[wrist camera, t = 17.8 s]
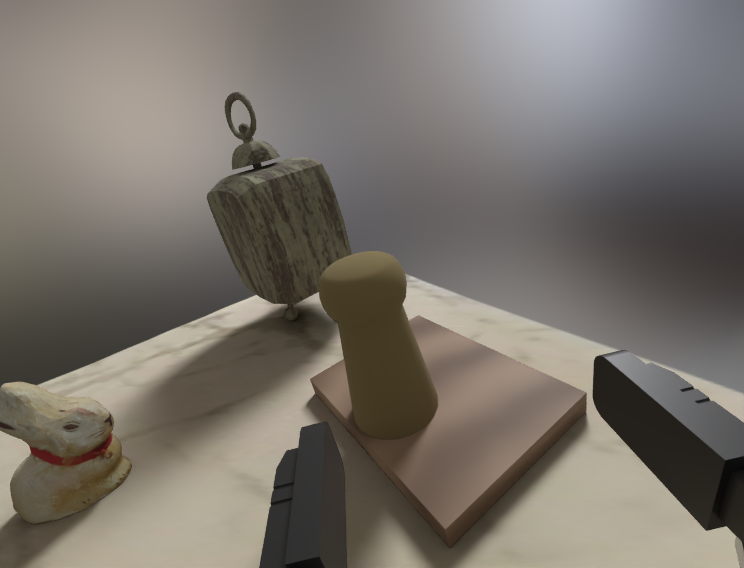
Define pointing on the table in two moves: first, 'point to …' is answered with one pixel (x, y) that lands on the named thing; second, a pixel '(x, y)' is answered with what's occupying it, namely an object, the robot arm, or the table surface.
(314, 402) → the table surface
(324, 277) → the cork
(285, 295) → the tabletop clock
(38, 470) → the chocolate bunny
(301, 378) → the table surface
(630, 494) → the table surface
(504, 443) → the walnut board
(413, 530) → the table surface
